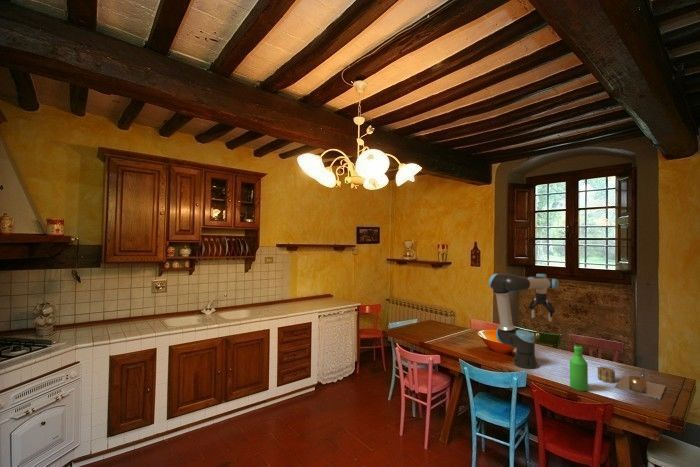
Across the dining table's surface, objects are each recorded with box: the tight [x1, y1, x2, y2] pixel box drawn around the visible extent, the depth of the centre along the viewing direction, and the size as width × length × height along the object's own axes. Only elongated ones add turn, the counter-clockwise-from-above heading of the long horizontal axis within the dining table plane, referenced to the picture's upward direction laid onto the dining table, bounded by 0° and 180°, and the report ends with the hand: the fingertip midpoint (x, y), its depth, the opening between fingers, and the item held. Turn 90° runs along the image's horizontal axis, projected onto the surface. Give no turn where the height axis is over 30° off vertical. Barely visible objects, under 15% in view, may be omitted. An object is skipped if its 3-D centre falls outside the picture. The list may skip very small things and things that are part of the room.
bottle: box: [569, 345, 589, 392], centre depth 198 cm, size 9×9×25 cm
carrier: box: [614, 372, 666, 400], centre depth 199 cm, size 25×20×8 cm
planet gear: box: [597, 366, 616, 384], centre depth 210 cm, size 9×9×7 cm
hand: (541, 319), depth 266 cm, fingers open, 13 cm apart
